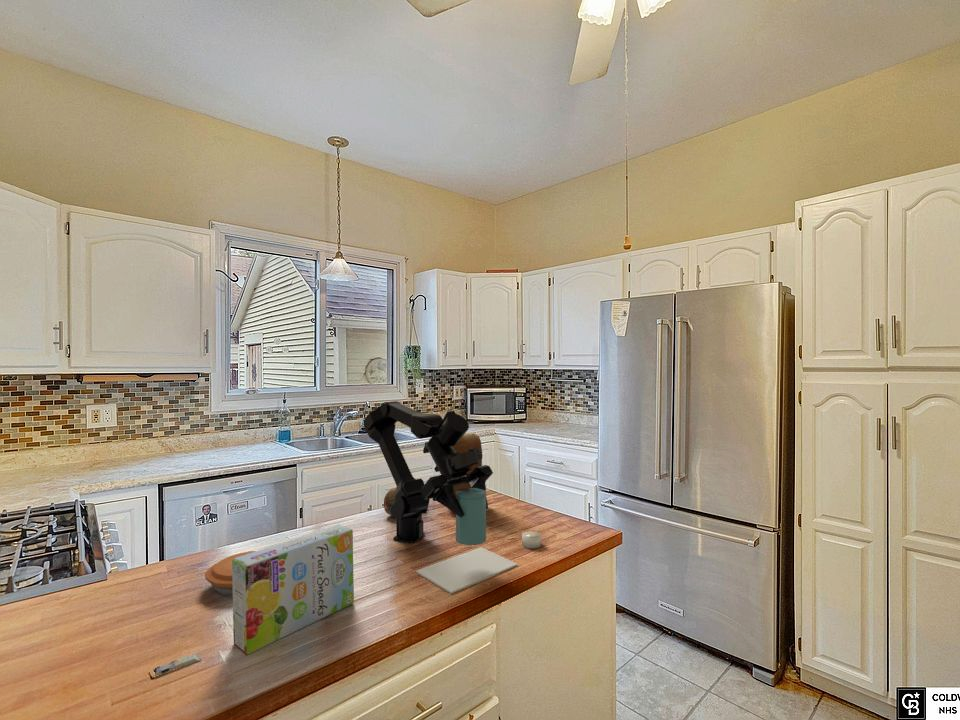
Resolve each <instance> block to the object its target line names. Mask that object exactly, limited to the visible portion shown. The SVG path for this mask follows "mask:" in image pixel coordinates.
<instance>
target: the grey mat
mask: <svg viewBox="0 0 960 720" xmlns="http://www.w3.org/2000/svg"><path fill="white" fill-rule="evenodd" d="M517 566H519V565H518V563H517V562H515V561H512V560H510V559H508V558H506V557H503V556H502V555H500V554H497V553H495V552H493V551H491V550H488V549H486V548H484V547H481V546H480V547H477V548H475V549H473V550H469V551H467V552H464V553H461V554H458V555H455V556H453V557H449V558H447V559H444V560H442V561H440V562H437V563H434V564H431V565H428V566H425V567H422V568H420V569H417V570H415V573H416V574H418V575H419V576H420V577H422V578H424V579H426V580H427V581H428V582H431V583H432V584H434V585H436V586H437V587H439V588H441V589H442V590H444V591H445V592H447V593H449V594H450V595H452V594H454V593H456V592H459V591H461V590H464V589H466V588H469V587H471V586H473V585H475V584H478V583H480V582H482V581H485V580H487V579H490V578H492V577H494V576H497V575H498V574H501V573H504V572H505V571H506V572H507V571H508V570H510V569H513V568H515V567H517Z"/></svg>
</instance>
